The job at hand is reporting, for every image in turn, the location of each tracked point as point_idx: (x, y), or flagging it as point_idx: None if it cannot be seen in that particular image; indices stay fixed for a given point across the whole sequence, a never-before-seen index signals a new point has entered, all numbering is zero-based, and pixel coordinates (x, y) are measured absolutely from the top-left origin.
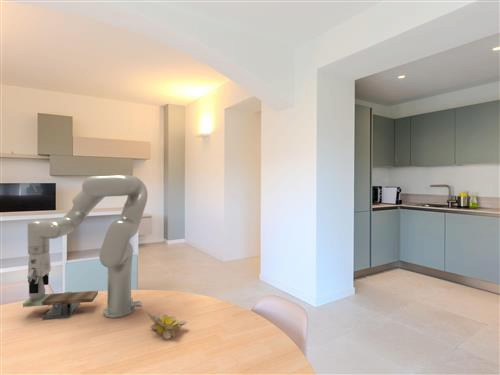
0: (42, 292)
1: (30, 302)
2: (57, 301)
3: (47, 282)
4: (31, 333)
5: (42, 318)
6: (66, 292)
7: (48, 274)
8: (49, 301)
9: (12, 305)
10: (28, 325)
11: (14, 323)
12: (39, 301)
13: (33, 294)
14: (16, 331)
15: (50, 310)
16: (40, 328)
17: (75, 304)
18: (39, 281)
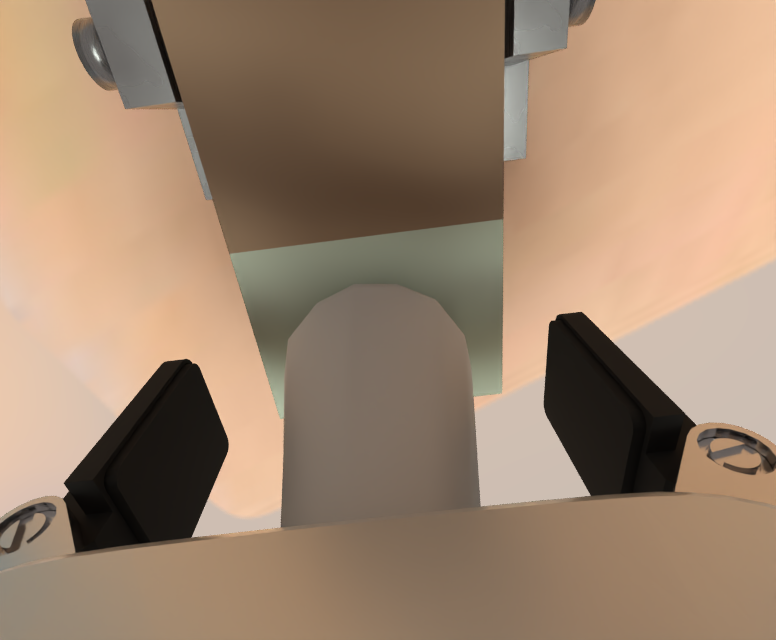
0: (413, 301)
1: (489, 340)
2: (503, 4)
3: (178, 383)
4: (763, 108)
5: (522, 156)
6: (114, 70)
7: (20, 511)
8: (500, 130)
9: (241, 491)
10: (593, 218)
11: (528, 334)
12: (477, 262)
13: (470, 374)
14: (672, 250)
15: None
16: (691, 77)
17: None
18: (446, 463)
